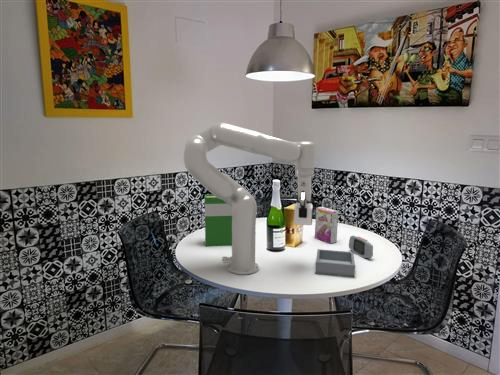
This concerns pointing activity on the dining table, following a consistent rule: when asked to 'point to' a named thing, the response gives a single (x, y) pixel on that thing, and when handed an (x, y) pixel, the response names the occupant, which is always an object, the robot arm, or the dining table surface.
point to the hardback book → (217, 222)
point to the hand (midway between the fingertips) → (303, 214)
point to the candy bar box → (326, 225)
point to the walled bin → (335, 263)
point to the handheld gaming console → (361, 247)
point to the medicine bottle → (309, 213)
